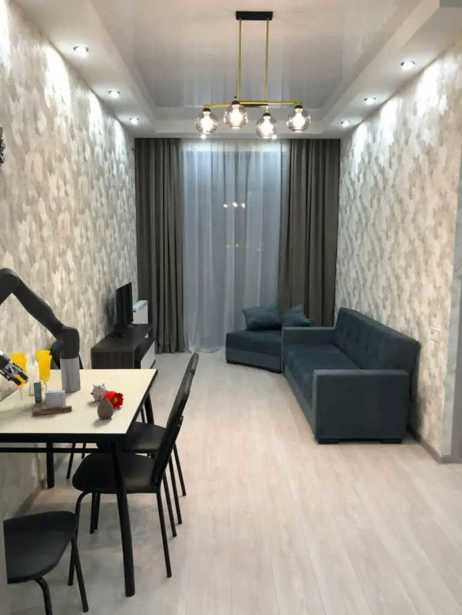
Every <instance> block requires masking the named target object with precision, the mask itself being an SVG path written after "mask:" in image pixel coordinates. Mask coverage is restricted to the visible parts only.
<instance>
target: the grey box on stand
mask: <svg viewBox="0 0 462 615" xmlns="http://www.w3.org/2000/svg"><path fill="white" fill-rule="evenodd" d="M42 394H43V393H42V383H41V382H40V381H37V382H34V383H33V395H34V408H33V416H41V415H51V414H57V413H58V414H60V413H65V412H66V413H67V412H72V411H73V406H72V405H66V406H63V407H54V408H42V402H43V396H42Z"/></svg>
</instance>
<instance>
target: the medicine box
mask: <svg viewBox="0 0 462 615" xmlns="http://www.w3.org/2000/svg"><path fill="white" fill-rule="evenodd" d="M44 395H45V396H44V397H45V398H44V399H45V407H46V408H54V407H63V406H67V397H66V392H65V390H62V389H61V390H60V389H59V390H55V389H54V390H47V391H46V392H45V393H44Z"/></svg>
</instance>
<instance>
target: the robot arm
mask: <svg viewBox="0 0 462 615" xmlns="http://www.w3.org/2000/svg"><path fill="white" fill-rule="evenodd" d="M10 295H13V296H14V297H15V298H16V299H17V300H18V302H19V303H20V304H21V306H22V307H23V308H24V309H25V310H26V312H27V313H28V314H29V315H30V316H31V317H33V319H35V320H36V321H38V323H40V325H42V326H43V327H45V329H46V330H48V332H49V333H50V334H51V335H52V336H53V338H55V340H56V341H57V342H58V343H60V344H62V345H63V349H62V351H60V352H59V361H60V362H59V363H60V375H61V376H60V379H61V390H65V393H71V392H72V393H73V392H78V391H79V390H81V388H82V387H81V374H80V372H81V371H80V359H79V357H80V356H79V354H80V350H81V348H80V346H81V343H80V332H79V330H78V329H77V328H76V327H73V326H68V325H65V324H64V323H62V322H61V320H59V319H58V318H57V316H56V314H55V313H54V310H53V308H52V307H51V306H50V305H49V304H48V303H47V302H46V301H45V300H44V299H43V298H42V297H41V296H39V294H37V292H35V291H34V290H33V289H32V288H30V287H29V286H28V285H27V284H26V283H25V282H24V281H23V280H22V279H21V278H20V276H19V275H18V273H17V272H16V271H15V270H13V269H12V268H8V267H3V268H2V267H1V268H0V306H2V304H3V303H4V302H5V301H6V300H7V299H8V298H9V296H10ZM14 362H15V361H13V362H12V363H11V358H10V357H9V356H7V355H6V354H5V353H4V352H3V351H2V350H0V375H1V376H2V377H3V378H4V379H5V380H7V381H8V382H10V381H11V382H13V383H14V384H16V385H17V386H18V387H19V386H21V385H22V384H23V382H22V381H21V380H20V379H22V380H23V381H27V380H28V379H29V376H28V375H27V374H26V373H24V369H23V368H22V367H21V365H18V363H16V362H15V363H16V364H15V363H14ZM16 375H17V376H18V377H20V379H19V378H18V377H16Z"/></svg>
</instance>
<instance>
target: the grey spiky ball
mask: <svg viewBox="0 0 462 615" xmlns="http://www.w3.org/2000/svg"><path fill="white" fill-rule="evenodd" d="M92 386H93V388H92V392H90V395H92V398H93V399H94V400H93V402H94V403H95V402H96V401H101V400H102V399H103V396H104V395H105V394H106V393H107V392H108V391H109V390H107V388H106V386H105V383H103V384H100V385H99V384H98V385H97V384H96V385H95V384H92Z"/></svg>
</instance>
